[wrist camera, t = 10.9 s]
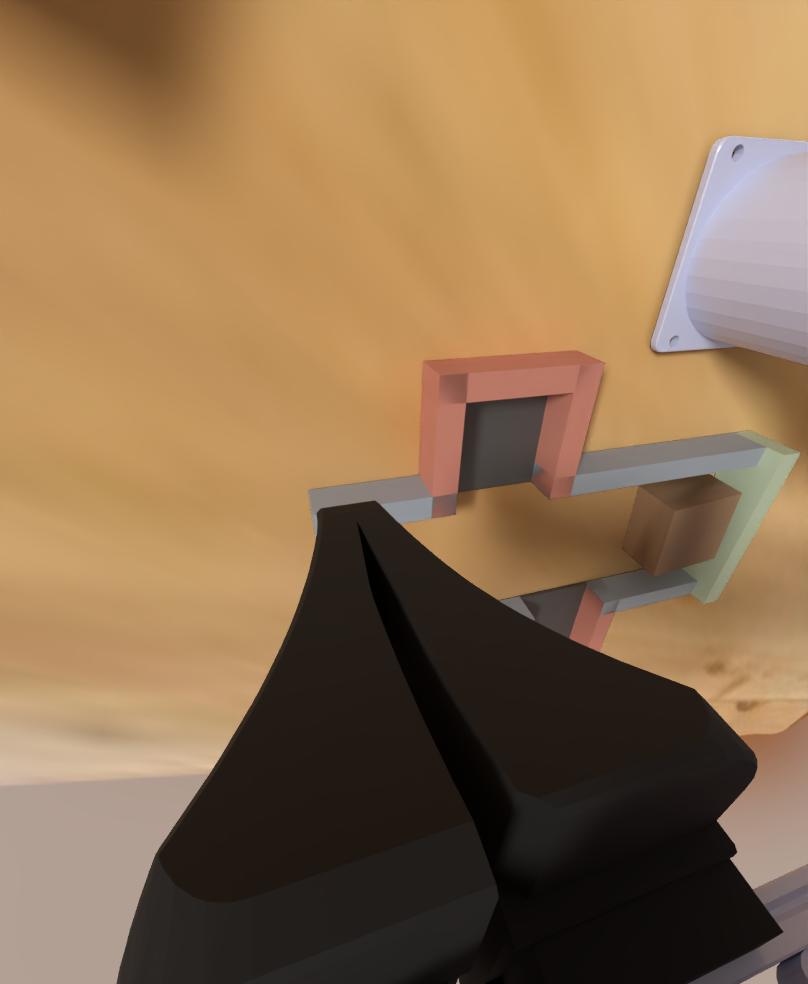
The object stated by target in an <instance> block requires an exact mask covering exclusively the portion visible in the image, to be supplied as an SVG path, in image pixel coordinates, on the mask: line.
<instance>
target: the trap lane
mask: <svg viewBox="0 0 808 984" xmlns="http://www.w3.org/2000/svg"><path fill="white" fill-rule="evenodd" d="M604 365H605V362H602V361H600V360H598V359H595V358H593V357H591V356H588V355H586V354H583V353H581V352H579V351H564V352H549V353H535V354H520V355H506V356H491V357H476V358H462V359H447V360H433V361H423V382H422V409H421V436H420V463H419V475H416V476H409V477H401V478H394V479H386V480H379V481H372V482H364V483H357V484H349V485H342V486H334V487H327V488H320V489H312V490H308V491H309V499H310V507H311V514H312V520H313V525H314V530H315V536H317V514H316V513H317V512H318V511H319V510H320V509H321V508H326V507H333V506H339V505H346V504H353V503H360V502H367V501H374V500H375V501H377V502H378V503H379V504H380V505H381V506H382V507H383V508H384V509H385V510H386V511H387V512H388V513H389V514H390V515H391V516H392V517H393V518H394V519H395V520H396V521H397V522H398V523H399V524H401V523H407V522H413V521H419V520H426V519H432V518H438V517H444V516H450V515H456V505H457V494H458V492H463V491H470V490H477V489H483V488H490V487H497V486H504V485H510V484H517V483H524V482H532V483H533V484H534V485H535V486H536V487H537V488H538V489H539V490H540V491H541V492H542V493H543V494H544V495H545V496H546V497H547V498H548V499H549V500H550V499H556V498H562V497H568V496H574V495H581V494H587V493H593V492H599V491H606V490H612V489H618V488H624V487H630V486H637V485H643V484H649V483H655V482H661V481H668V480H674V479H680V478H686V477H692V476H699V475H705V474H711V473H716V474H715V476H714V477H715V478H717V479H719V480H720V481H722V482H724V483H726V484H727V485H729V486H731V487H733V488H734V489H736V490H738V491H740V492H741V493H742V495H741V497H740V499H739V502H738V504H737V506H736V509H735V511H734V514H733V516H732V518H731V521H730V523H729V525H728V528H727V530H726V532H725V535H724V537H723V539H722V542H721V544H720V546H719V549H718V551H717V553H716V556H715V558H714V559H711V560H708V561H704V562H701V563H698V564H694V565H691V566H688V567H685V568H681V569H678V570H675V571H671V572H668V573H665V574H662V575H658V576H655V577H653V576H652V575H651V574H650V573H649V572H648V571H647V570H645V569H642V570H637V571H632V572H628V573H623V574H619V575H614V576H610V577H605V578H600V579H596V580H591V581H587V582H582V583H577V584H573V585H568V586H564V587H559V588H554V589H550V590H545V591H541V592H536V593H532V594H527V595H522V596H518V597H513V598H509V599H504V600H499V601H500V602H502V603H503V604H505V605H507V606H508V607H510V608H512V609H514V610H515V611H517V612H519V613H521V614H523V615H524V616H526V617H528V618H530V619H532V620H534V621H536V622H538V623H539V624H541V625H543V626H545V627H547V628H549V629H551V630H553V631H555V632H557V633H559V634H561V635H563V636H565V637H567V638H569V639H571V640H574V641H576V642H578V643H580V644H582V645H585V646H587V647H589V648H591V649H594V650H596V651H598V652H600V649H601V647H602V644H603V641H604V639H605V636H606V634H607V631H608V629H609V626H610V624H611V621H612V619H613V616H614V614H615V612H618V611H623V610H627V609H631V608H635V607H639V606H643V605H647V604H652V603H656V602H660V601H664V600H668V599H672V598H676V597H680V596H685V595H689V594H692V595H693V596H694V597H695V598H696V599H698V600H699V601H700V602H701V603H702V604H706V603H710V602H714V601H717V600H718V598H719V596H720V595H721V593H722V591H723V589H724V588H725V586H726V584H727V582H728V581H729V579H730V577H731V575H732V574H733V572H734V570H735V568H736V566H737V565H738V563H739V561H740V559H741V558H742V556H743V554H744V552H745V551H746V549H747V547H748V545H749V544H750V542H751V540H752V538H753V536H754V535H755V533H756V531H757V529H758V528H759V526H760V524H761V522H762V521H763V519H764V517H765V515H766V514H767V512H768V510H769V508H770V506H771V505H772V503H773V501H774V499H775V498H776V496H777V494H778V492H779V491H780V489H781V487H782V485H783V484H784V482H785V480H786V478H787V476H788V475H789V473H790V471H791V469H792V468H793V466H794V464H795V462H796V461H797V459H798V457H799V455H800V454H801V453H800V452H798V451H796V450H794V449H791V448H789V447H787V446H784V445H782V444H780V443H778V442H775V441H773V440H771V439H768V438H766V437H764V436H762V435H759V434H757V433H755V432H753V431H743V432H735V433H728V434H720V435H713V436H706V437H698V438H691V439H683V440H676V441H668V442H661V443H654V444H646V445H639V446H631V447H624V448H616V449H609V450H602V451H594V452H587V453H582V449H583V446H584V442H585V438H586V434H587V430H588V426H589V423H590V419H591V415H592V411H593V407H594V404H595V400H596V396H597V392H598V388H599V384H600V381H601V377H602V373H603V369H604Z"/></svg>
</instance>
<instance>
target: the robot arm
mask: <svg viewBox="0 0 808 984" xmlns="http://www.w3.org/2000/svg"><path fill="white" fill-rule="evenodd" d="M734 149H735V152H734V156H733V158H732V152H733V150H734ZM671 338H672V340H671ZM670 340H671V342H670ZM669 342H670V343H669ZM729 347H742V348H746V349H749V350H753V351H756V352H760V353H764V354H767V355H771V356H775V357H778V358H782V359H786V360H789V361H793V362H797V363H800V364H804V365H807V366H808V141H795V140H782V139H769V138H756V137H743V136H727V137H722V138H720V139H718V140H717V141H716V142H715V143H714V145H713V146H712V148H711V150H710V153H709V156H708V159H707V162H706V166H705V169H704V172H703V175H702V178H701V182H700V185H699V188H698V191H697V195H696V198H695V201H694V204H693V207H692V211H691V214H690V217H689V220H688V224H687V227H686V230H685V233H684V236H683V240H682V243H681V246H680V249H679V253H678V256H677V259H676V262H675V265H674V269H673V272H672V275H671V278H670V282H669V285H668V288H667V291H666V295H665V298H664V301H663V304H662V307H661V311H660V314H659V317H658V320H657V324H656V327H655V330H654V333H653V336H652V340H651V348H652V349H653V350H654V351H657V352H675V351H688V350H702V349H715V348H729ZM316 514H317V536H316V542H315V548H314V552H313V557H312V561H311V565H310V569H309V573H308V577H307V580H306V583H305V586H304V589H303V592H302V595H301V598H300V601H299V604H298V607H297V610H296V612H295V615H294V617H293V620H292V623H291V625H290V627H289V630H288V632H287V634H286V637H285V639H284V641H283V644H282V646H281V648H280V650H279V652H278V654H277V656H276V658H275V660H274V663H273V665H272V667H271V669H270V671H269V673H268V675H267V677H266V679H265V681H264V683H263V685H262V686H261V688H260V690H259V692H258V694H257V696H256V698H255V699H254V701H253V703H252V705H251V707H250V708H249V710H248V712H247V713H246V715H245V717H244V718H243V720H242V722H241V723H240V725H239V727H238V728H237V730H236V732H235V734H234V735H233V737H232V739H231V740H230V742H229V744H228V745H227V747H226V749H225V750H224V752H223V754H222V755H221V757H220V759H219V760H218V762H217V763H216V765H215V766H214V768H213V770H212V771H211V773H210V774H209V776H208V777H207V779H206V780H205V782H204V783H203V785H202V786H201V788H200V789H199V791H198V792H197V794H196V795H195V796H194V798H193V799H192V801H191V802H190V804H189V805H188V807H187V808H186V810H185V811H184V813H183V814H182V816H181V817H180V819H179V820H178V821H177V823H176V825H175V826H174V827H173V829H172V830H171V832H170V833H169V835H168V836H167V838H166V839H165V841H164V842H163V844H162V845H161V847H160V848H159V850H158V852H157V853H156V855H155V857H154V860H153V863H152V865H151V868H150V871H149V874H148V877H147V879H146V882H145V885H144V888H143V891H142V894H141V897H140V900H139V903H138V906H137V909H136V913H135V916H134V919H133V922H132V925H131V928H130V932H129V936H128V940H127V944H126V948H125V952H124V955H123V958H122V962H121V966H120V970H119V974H118V979H117V984H456V983H457V979H458V978H459V983H460V984H740V983H742V982H744V981H746V980H748V979H750V978H751V977H753V976H755V975H757V974H759V973H761V972H763V971H765V970H767V969H768V968H770V967H772V966H774V965H776V964H778V963H780V964H779V965H778V966H777V981H778V984H808V864H807V865H804V866H802V867H800V868H798V869H796V870H794V871H791V872H789V873H787V874H785V875H783V876H781V877H779V878H777V879H774V880H773V881H770V882H768V883H766V884H764V885H762V886H759V887H757V888H755V889H752V888H751V887H750V885H749V884H748V883H747V881H746V880H745V879H744V877H743V876H742V875H741V873H740V872H739V871H738V869H737V868H736V866H735V865H734V864H733V862H732V861H731V860H730V858H731V857H733V856H734V855H735V854H736V853H737V850H736V847H735V844H734V843H733V842H732V840H731V839H730V838H729V837H728V835H727V834H726V832H725V831H724V830H723V828H722V827H721V826H720V825H719V823H718V822H717V821H716V820H717V819H718V818H719V817H720V816H721V815H722V814H723V813H724V812H725V811H726V810H727V808H728V807H729V806H730V805H731V804H732V803H733V802H734V801H735V799H737V797H738V796H739V795H740V794H741V793H742V792H743V791H744V790H745V789H746V787H747V786H748V785H749V784H750V782H751V781H752V780H753V778H754V776H755V773H756V771H757V759H756V756H755V754H754V752H753V751H752V750H751V749H750V748H749V747H748V746H747V744H746V743H745V742H744V741H743V740H742V739H741V738H740V737H739V736H738V735H737V734H736V733H735V731H734V730H733V729H732V728H731V727H730V726H729V725H728V724H727V723H726V722H725V721H724V720H723V718H722V717H721V716H720V715H719V714H718V713H717V712H716V711H715V710H714V709H713V708H712V707H711V706H710V705H709V703H708V702H707V701H706V700H705V699H704V698H703V697H702V696H701V695H700V694H699V693H698V692H697V691H696V690H695V689H693V688H691V687H688V686H685V685H683V684H680V683H677V682H675V681H672V680H669V679H667V678H664V677H661V676H659V675H656V674H653V673H651V672H648V671H645V670H643V669H640V668H637V667H635V666H632V665H629V664H627V663H624V662H621V661H619V660H617V659H614V658H612V657H610V656H607V655H605V654H603V653H600V652H598V651H596V650H594V649H591V648H589V647H587V646H585V645H582V644H580V643H578V642H576V641H574V640H571V639H569V638H567V637H565V636H563V635H561V634H559V633H557V632H555V631H553V630H551V629H549V628H547V627H545V626H543V625H541V624H539V623H538V622H536V621H534V620H532V619H530V618H528V617H526V616H524V615H523V614H521V613H519V612H517V611H515V610H514V609H512V608H510V607H508V606H507V605H505V604H503V603H502V602H500V601H498V600H497V599H495V598H494V597H492V596H491V595H489V594H487V593H486V592H484V591H483V590H481V589H480V588H478V587H476V586H475V585H473V584H472V583H471V582H469V581H468V580H466V579H465V578H464V577H462V576H461V575H460V574H458V573H457V572H456V571H454V570H453V569H452V568H450V567H449V566H448V565H446V564H445V563H444V562H443V561H441V560H440V559H439V558H438V557H436V556H435V555H434V554H433V553H432V552H431V551H429V550H428V549H427V548H426V547H425V546H424V545H422V544H421V543H420V542H419V541H418V540H417V539H415V538H414V537H413V536H412V535H411V534H410V533H409V532H408V531H407V530H406V529H405V528H404V527H403V526H402V525H400V524H399V523H398V522H397V521H396V520H395V519H394V518H393V517H392V516H391V515H390V514H389V513H388V512H387V511H386V510H385V509H384V508H383V507H382V506H381V505H380V504H379V503H378V502H377V501H375V500H374V501H367V502H360V503H353V504H346V505H339V506H333V507H326V508H321V509H320V510H319V511H318V512H317V513H316Z"/></svg>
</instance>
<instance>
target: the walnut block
mask: <svg viewBox="0 0 808 984" xmlns="http://www.w3.org/2000/svg"><path fill="white" fill-rule="evenodd" d="M741 495H742V493H741V492H740V491H738V490H736V489H734V488H733V487H731V486H729V485H727V484H726V483H724V482H722V481H720V480H719V479H717V478H715V477H713V476H712V475H710V474H705V475H699V476H692V477H686V478H680V479H674V480H668V481H661V482H655V483H649V484H643V485H639V487H638V491H637V494H636V498H635V502H634V506H633V510H632V514H631V517H630V521H629V525H628V529H627V533H626V536H625V540H624V544H623V548H622V549H624V550H625V551H626V552H627V553H628V554H629V555H630V556H631V557H632V558H633V559H634V560H636V561H637V562H638V563H639V564H640V565H641V566H642V567H643V568H644V569H645V570H647V571H648V572H649V573H650V574H651V575H652V576H653V577H655V576H658V575H662V574H665V573H668V572H671V571H675V570H678V569H681V568H685V567H688V566H691V565H694V564H698V563H701V562H704V561H708V560H711V559H714V558H715V556H716V553H717V551H718V549H719V546H720V544H721V542H722V539H723V537H724V535H725V532H726V530H727V528H728V525H729V523H730V521H731V518H732V516H733V514H734V511H735V509H736V506H737V504H738V502H739V499H740V497H741Z"/></svg>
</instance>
